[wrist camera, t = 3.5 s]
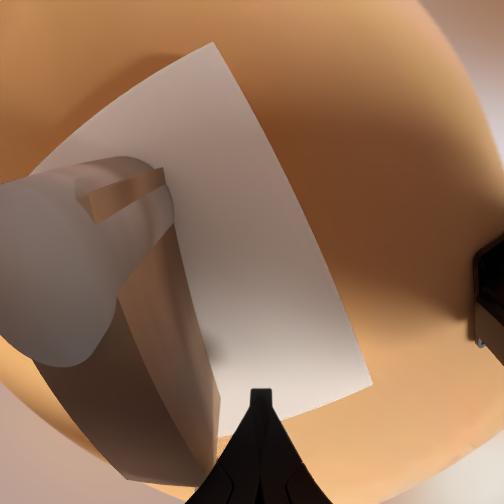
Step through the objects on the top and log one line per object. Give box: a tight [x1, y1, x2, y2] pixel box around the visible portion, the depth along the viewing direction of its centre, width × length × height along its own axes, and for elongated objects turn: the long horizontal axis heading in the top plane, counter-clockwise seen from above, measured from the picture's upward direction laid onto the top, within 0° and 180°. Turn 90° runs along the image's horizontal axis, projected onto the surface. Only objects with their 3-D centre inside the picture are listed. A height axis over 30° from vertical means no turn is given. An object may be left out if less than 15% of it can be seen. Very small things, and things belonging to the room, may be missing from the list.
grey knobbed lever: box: [0, 156, 221, 487], centre depth 7 cm, size 9×3×5 cm, turn 7°
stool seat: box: [28, 42, 373, 437], centre depth 9 cm, size 11×14×4 cm
